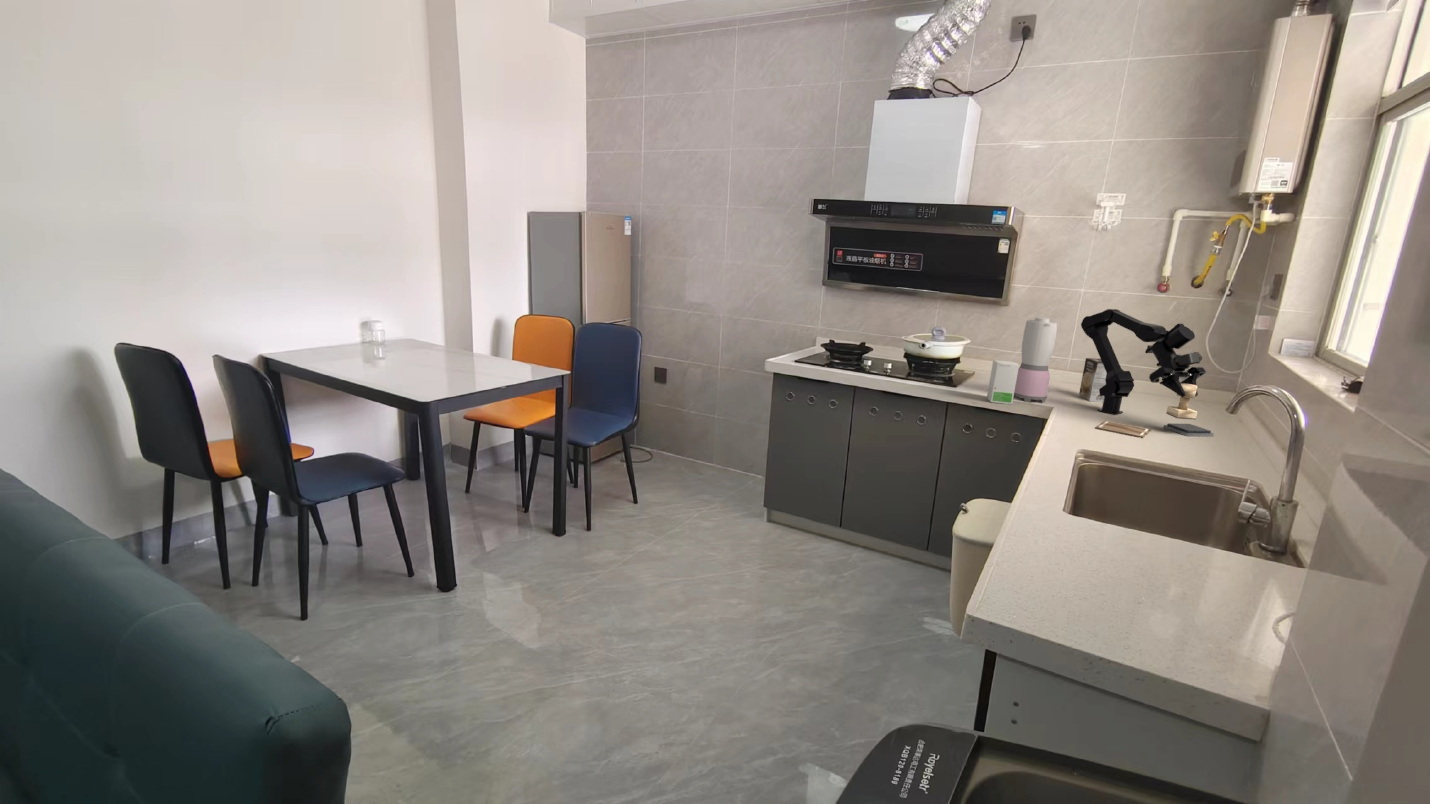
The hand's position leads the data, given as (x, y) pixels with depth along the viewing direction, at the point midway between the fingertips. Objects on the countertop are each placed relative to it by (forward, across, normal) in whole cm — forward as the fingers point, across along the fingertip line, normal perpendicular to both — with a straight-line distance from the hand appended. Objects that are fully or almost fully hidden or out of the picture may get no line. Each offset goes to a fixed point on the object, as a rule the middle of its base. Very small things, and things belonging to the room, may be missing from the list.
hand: (1190, 396), depth 220 cm
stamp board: (+4, -17, +14) cm, 23 cm away
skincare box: (-24, -34, +43) cm, 60 cm away
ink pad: (+8, +5, +10) cm, 14 cm away
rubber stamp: (+4, 0, +6) cm, 8 cm away
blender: (-27, -17, +46) cm, 56 cm away
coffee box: (-24, +11, +43) cm, 50 cm away
